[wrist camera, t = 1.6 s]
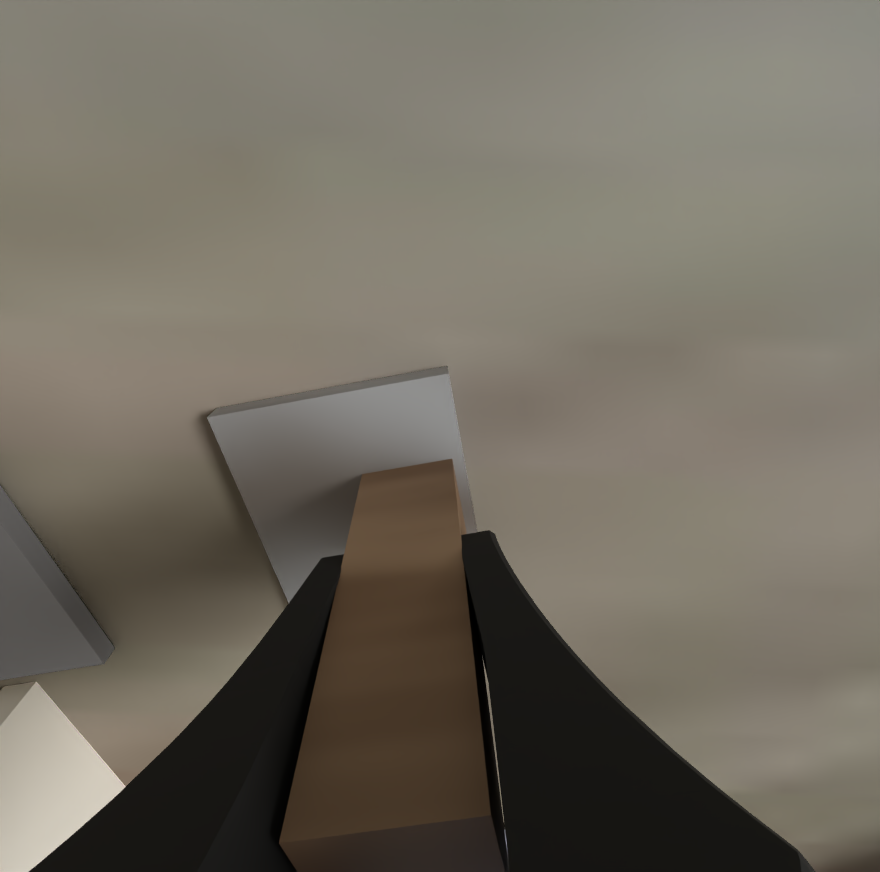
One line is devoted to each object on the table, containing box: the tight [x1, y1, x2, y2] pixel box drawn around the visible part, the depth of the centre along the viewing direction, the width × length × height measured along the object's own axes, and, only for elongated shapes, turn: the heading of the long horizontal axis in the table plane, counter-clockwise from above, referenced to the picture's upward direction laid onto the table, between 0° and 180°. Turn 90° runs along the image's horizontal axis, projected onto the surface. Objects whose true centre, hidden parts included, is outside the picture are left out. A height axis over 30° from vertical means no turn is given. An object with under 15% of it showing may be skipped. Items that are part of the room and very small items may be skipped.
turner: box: [207, 366, 509, 872], centre depth 10 cm, size 7×6×9 cm
